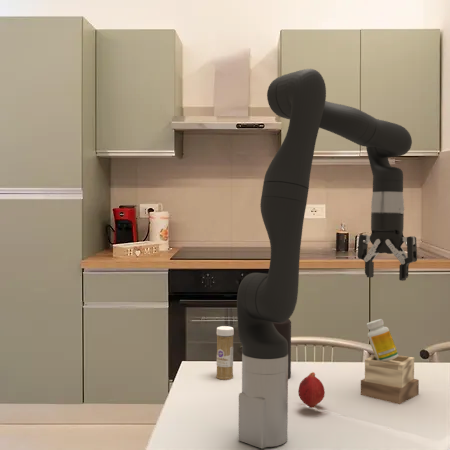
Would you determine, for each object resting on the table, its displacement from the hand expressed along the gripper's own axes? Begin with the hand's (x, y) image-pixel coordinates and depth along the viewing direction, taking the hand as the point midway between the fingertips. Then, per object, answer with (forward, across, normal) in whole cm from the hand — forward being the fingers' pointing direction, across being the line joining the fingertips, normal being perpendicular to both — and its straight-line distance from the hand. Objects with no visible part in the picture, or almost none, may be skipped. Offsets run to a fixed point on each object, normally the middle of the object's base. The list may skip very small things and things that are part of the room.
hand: (386, 278), depth 140 cm
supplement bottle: (+20, 0, +1) cm, 20 cm away
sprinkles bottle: (+28, -38, -16) cm, 50 cm away
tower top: (+25, +1, +1) cm, 25 cm away
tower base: (+29, +1, +2) cm, 29 cm away
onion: (+28, -8, -20) cm, 35 cm away
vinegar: (+28, -28, -6) cm, 40 cm away
